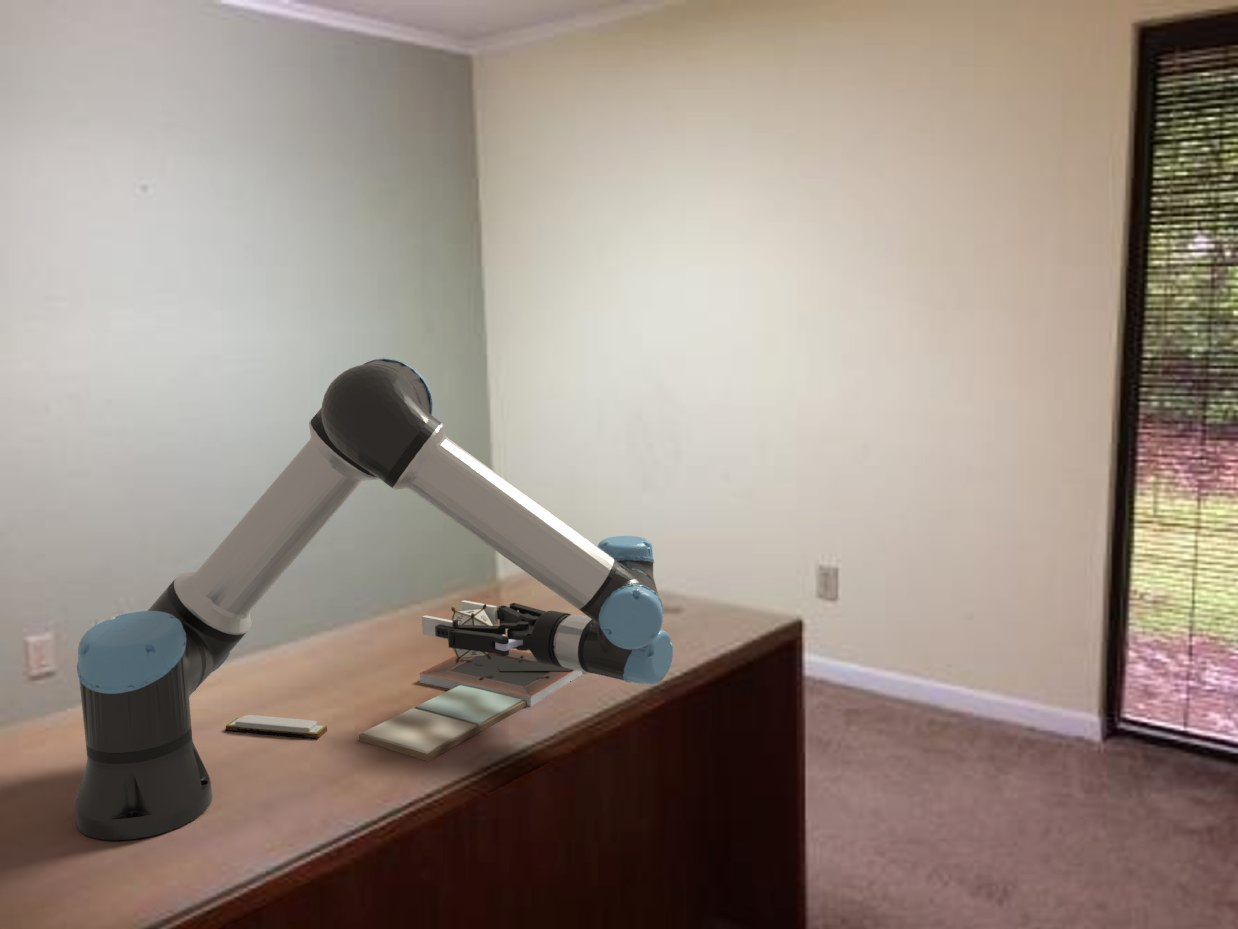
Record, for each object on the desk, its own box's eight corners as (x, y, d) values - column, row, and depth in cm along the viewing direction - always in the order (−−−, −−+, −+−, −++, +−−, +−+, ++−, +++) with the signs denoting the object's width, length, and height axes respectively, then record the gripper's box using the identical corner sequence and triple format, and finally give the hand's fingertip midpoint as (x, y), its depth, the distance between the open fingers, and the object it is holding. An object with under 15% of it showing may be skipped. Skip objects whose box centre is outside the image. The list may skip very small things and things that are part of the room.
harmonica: (225, 734, 150) (224, 721, 149) (237, 726, 153) (236, 713, 152) (317, 742, 147) (316, 729, 146) (327, 734, 150) (327, 721, 149)
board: (427, 761, 140) (427, 753, 139) (358, 740, 146) (358, 732, 146) (525, 706, 158) (525, 699, 158) (460, 690, 165) (460, 683, 165)
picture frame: (585, 676, 172) (480, 656, 183) (585, 662, 172) (480, 642, 182) (530, 711, 158) (420, 686, 169) (530, 695, 158) (419, 671, 168)
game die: (480, 685, 155) (484, 647, 148) (430, 662, 157) (432, 623, 150) (507, 642, 161) (512, 603, 154) (459, 620, 163) (462, 581, 156)
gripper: (523, 690, 137) (396, 661, 149) (607, 644, 155) (488, 622, 166) (521, 636, 136) (393, 611, 148) (606, 596, 153) (486, 576, 165)
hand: (444, 616), depth 157 cm, fingers closed on game die, 8 cm apart
